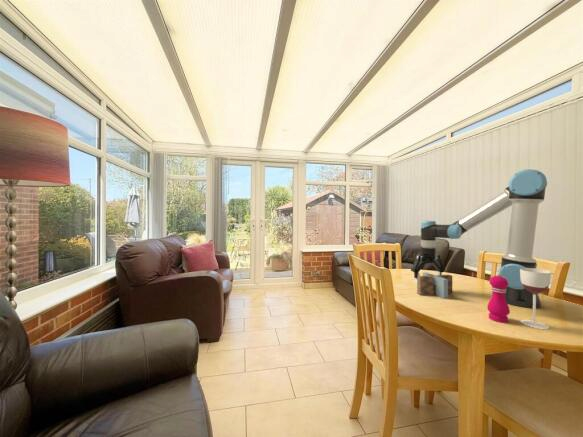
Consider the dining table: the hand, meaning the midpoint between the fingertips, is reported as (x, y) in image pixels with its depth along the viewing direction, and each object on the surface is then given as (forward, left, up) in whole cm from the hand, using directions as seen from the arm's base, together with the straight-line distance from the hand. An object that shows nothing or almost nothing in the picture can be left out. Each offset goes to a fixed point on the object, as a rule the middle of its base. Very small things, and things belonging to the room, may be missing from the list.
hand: (427, 283), depth 141 cm
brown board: (-6, 0, -4) cm, 7 cm away
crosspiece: (-5, 0, -4) cm, 7 cm away
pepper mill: (-40, -2, -4) cm, 40 cm away
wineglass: (-46, -12, -4) cm, 47 cm away
